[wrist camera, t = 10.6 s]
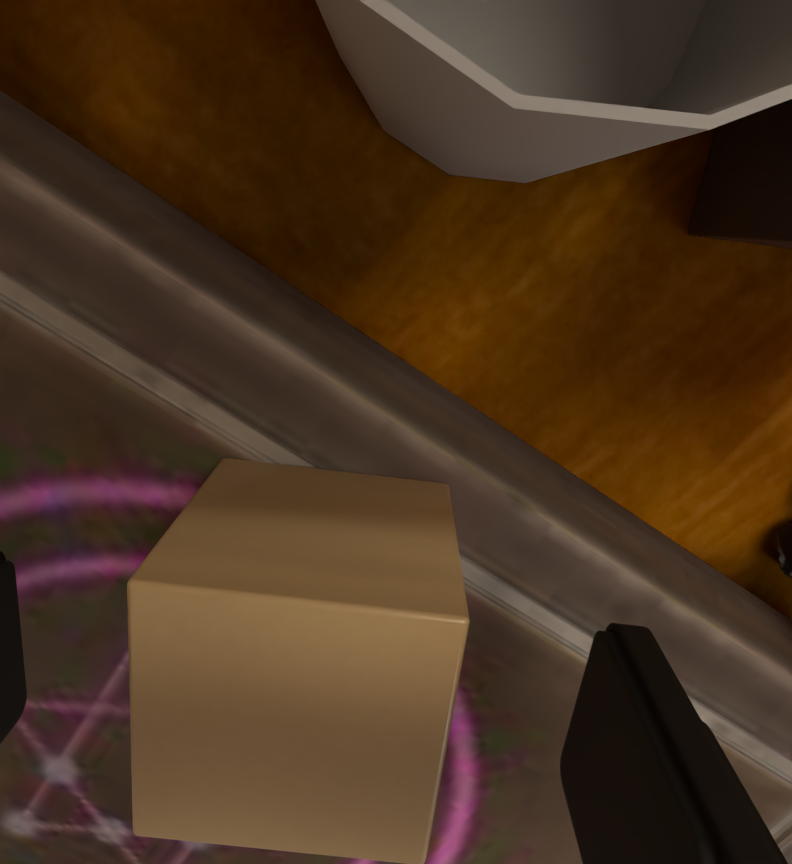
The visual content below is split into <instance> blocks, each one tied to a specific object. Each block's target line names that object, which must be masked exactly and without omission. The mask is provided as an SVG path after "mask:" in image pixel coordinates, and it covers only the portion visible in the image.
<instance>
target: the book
mask: <svg viewBox="0 0 792 864" xmlns="http://www.w3.org/2000/svg"><path fill="white" fill-rule="evenodd" d="M224 458H230V459H239V460H247V461H256V462H264V463H273V464H282V465H290V466H299V467H308V468H316V469H325V470H333V471H342V472H351V473H359V474H368V475H377V476H385V477H394V478H402V479H411V480H420V481H428V482H437V483H445V484H448V485H449V488H450V495H451V502H452V508H453V515H454V521H455V528H456V534H457V541H458V548H459V554H460V561H461V567H462V574H463V580H464V587H465V594H466V600H467V607H468V613H469V620H470V624H469V629H468V635H467V640H466V646H465V651H464V656H463V662H462V667H461V673H460V678H459V684H458V689H457V695H456V700H455V705H454V711H453V716H452V722H451V727H450V733H449V738H448V744H447V749H446V754H445V760H444V765H443V771H442V776H441V782H440V787H439V793H438V798H437V803H436V809H435V814H434V820H433V825H432V831H431V836H430V842H429V847H428V852H427V858H426V860H425V863H424V864H583V863H582V859H581V855H580V851H579V847H578V843H577V840H576V836H575V832H574V828H573V824H572V821H571V817H570V813H569V809H568V805H567V801H566V798H565V794H564V790H563V786H562V782H561V777H560V759H561V754H562V750H563V747H564V743H565V739H566V736H567V732H568V729H569V725H570V721H571V718H572V714H573V711H574V707H575V703H576V700H577V696H578V693H579V689H580V685H581V682H582V678H583V675H584V671H585V667H586V664H587V660H588V657H589V653H590V649H591V646H592V642H593V639H594V636H595V634H596V632H597V631H599V630H600V631H605V630H606V628H607V626H608V625H609V624H611V623H619V624H627V625H636V626H644V627H647V628H649V630H650V631H651V632H652V634H653V635H654V637H655V639H656V641H657V643H658V644H659V646H660V648H661V650H662V651H663V653H664V655H665V657H666V658H667V660H668V662H669V664H670V666H671V667H672V669H673V671H674V673H675V674H676V676H677V678H678V680H679V681H680V683H681V685H682V687H683V688H684V690H685V692H686V694H687V696H688V697H689V699H690V701H691V703H692V704H693V706H694V708H695V710H696V711H697V713H698V715H699V717H700V719H701V720H702V721H703V722H705V723H706V724H707V725H708V727H709V728H710V729H711V731H712V732H713V734H714V735H715V737H716V739H717V741H718V742H719V744H720V746H721V748H722V749H723V751H724V753H725V755H726V756H727V758H728V760H729V762H730V763H731V765H732V767H733V769H734V770H735V772H736V774H737V776H738V777H739V779H740V781H741V782H742V784H743V786H744V788H745V789H746V791H747V793H748V795H749V796H750V798H751V800H752V802H753V803H754V805H755V807H756V809H757V810H758V812H759V814H760V816H761V817H762V819H763V821H764V823H765V824H766V826H767V828H768V830H769V831H770V833H771V835H772V836H773V838H774V840H775V842H776V843H777V845H778V847H779V849H780V850H781V852H782V854H783V856H784V857H785V859H786V861H787V863H788V864H792V620H791V619H789V618H788V617H786V616H785V615H783V614H782V613H780V612H779V611H777V610H776V609H774V608H773V607H771V606H770V605H768V604H767V603H765V602H764V601H762V600H761V599H759V598H758V597H756V596H755V595H753V594H752V593H750V592H749V591H747V590H746V589H744V588H743V587H741V586H740V585H738V584H737V583H735V582H734V581H732V580H731V579H729V578H728V577H726V576H725V575H723V574H722V573H720V572H719V571H717V570H716V569H714V568H713V567H711V566H710V565H708V564H707V563H705V562H704V561H702V560H701V559H700V558H698V557H697V556H695V555H694V554H692V553H691V552H689V551H688V550H686V549H685V548H683V547H682V546H680V545H679V544H677V543H676V542H674V541H673V540H671V539H670V538H668V537H667V536H665V535H664V534H662V533H661V532H659V531H658V530H656V529H655V528H653V527H652V526H650V525H649V524H647V523H646V522H644V521H643V520H641V519H640V518H638V517H637V516H635V515H634V514H632V513H631V512H629V511H628V510H626V509H625V508H623V507H622V506H620V505H619V504H617V503H616V502H614V501H613V500H611V499H610V498H608V497H607V496H605V495H604V494H602V493H601V492H599V491H598V490H597V489H595V488H594V487H592V486H591V485H589V484H588V483H586V482H585V481H583V480H582V479H580V478H579V477H577V476H576V475H574V474H573V473H571V472H570V471H568V470H567V469H565V468H564V467H562V466H561V465H559V464H558V463H556V462H555V461H553V460H552V459H550V458H549V457H547V456H546V455H544V454H543V453H541V452H540V451H538V450H537V449H535V448H534V447H532V446H531V445H529V444H528V443H526V442H525V441H523V440H522V439H520V438H519V437H517V436H516V435H514V434H513V433H511V432H510V431H508V430H507V429H505V428H504V427H502V426H501V425H499V424H498V423H496V422H495V421H494V420H492V419H491V418H489V417H488V416H486V415H485V414H483V413H482V412H480V411H479V410H477V409H476V408H474V407H473V406H471V405H470V404H468V403H467V402H465V401H464V400H462V399H461V398H459V397H458V396H456V395H455V394H453V393H452V392H450V391H449V390H447V389H446V388H444V387H443V386H441V385H440V384H438V383H437V382H435V381H434V380H432V379H431V378H429V377H428V376H426V375H425V374H423V373H422V372H420V371H419V370H417V369H416V368H414V367H413V366H411V365H410V364H408V363H407V362H405V361H404V360H402V359H401V358H399V357H398V356H396V355H395V354H393V353H392V352H390V351H389V350H388V349H386V348H385V347H383V346H382V345H380V344H379V343H377V342H376V341H374V340H373V339H371V338H370V337H368V336H367V335H365V334H364V333H362V332H361V331H359V330H358V329H356V328H355V327H353V326H352V325H350V324H349V323H347V322H346V321H344V320H343V319H341V318H340V317H338V316H337V315H335V314H334V313H332V312H331V311H329V310H328V309H326V308H325V307H323V306H322V305H320V304H319V303H317V302H316V301H314V300H313V299H311V298H310V297H308V296H307V295H305V294H304V293H302V292H301V291H299V290H298V289H296V288H295V287H293V286H292V285H290V284H289V283H287V282H286V281H285V280H283V279H282V278H280V277H279V276H277V275H276V274H274V273H273V272H271V271H270V270H268V269H267V268H265V267H264V266H262V265H261V264H259V263H258V262H256V261H255V260H253V259H252V258H250V257H249V256H247V255H246V254H244V253H243V252H241V251H240V250H238V249H237V248H235V247H234V246H232V245H231V244H229V243H228V242H226V241H225V240H223V239H222V238H220V237H219V236H217V235H216V234H214V233H213V232H211V231H210V230H208V229H207V228H205V227H204V226H202V225H201V224H199V223H198V222H196V221H195V220H193V219H192V218H190V217H189V216H187V215H186V214H184V213H183V212H182V211H180V210H179V209H177V208H176V207H174V206H173V205H171V204H170V203H168V202H167V201H165V200H164V199H162V198H161V197H159V196H158V195H156V194H155V193H153V192H152V191H150V190H149V189H147V188H146V187H144V186H143V185H141V184H140V183H138V182H137V181H135V180H134V179H132V178H131V177H129V176H128V175H126V174H125V173H123V172H122V171H120V170H119V169H117V168H116V167H114V166H113V165H111V164H110V163H108V162H107V161H105V160H104V159H102V158H101V157H99V156H98V155H96V154H95V153H93V152H92V151H90V150H89V149H87V148H86V147H84V146H83V145H81V144H80V143H79V142H77V141H76V140H74V139H73V138H71V137H70V136H68V135H67V134H65V133H64V132H62V131H61V130H59V129H58V128H56V127H55V126H53V125H52V124H50V123H49V122H47V121H46V120H44V119H43V118H41V117H40V116H38V115H37V114H35V113H34V112H32V111H31V110H29V109H28V108H26V107H25V106H23V105H22V104H20V103H19V102H17V101H16V100H14V99H13V98H11V97H10V96H8V95H7V94H5V93H4V92H2V91H1V90H0V551H1V552H3V554H4V555H5V557H6V560H7V561H11V562H12V563H13V564H14V567H15V572H16V583H17V594H18V604H19V615H20V625H21V636H22V647H23V657H24V668H25V678H26V689H27V700H26V705H25V708H24V711H23V713H22V715H21V717H20V719H19V720H18V722H17V723H16V724H15V726H14V727H13V728H12V730H11V731H10V732H9V734H8V735H7V736H6V737H5V739H4V740H3V741H2V743H1V744H0V864H404V863H395V862H385V861H375V860H366V859H356V858H346V857H337V856H327V855H317V854H308V853H298V852H288V851H279V850H269V849H259V848H250V847H240V846H230V845H221V844H211V843H201V842H192V841H182V840H172V839H163V838H153V837H143V836H137V835H135V834H134V833H133V814H132V773H131V731H130V690H129V649H128V607H127V583H128V581H129V579H130V578H131V576H132V575H133V574H134V573H135V571H136V570H137V569H138V567H139V566H140V565H141V563H142V562H143V561H144V560H145V558H146V557H147V556H148V554H149V553H150V552H151V550H152V549H153V548H154V547H155V545H156V544H157V543H158V541H159V540H160V539H161V538H162V536H163V535H164V534H165V532H166V531H167V530H168V528H169V527H170V526H171V525H172V523H173V522H174V521H175V519H176V518H177V517H178V515H179V514H180V513H181V512H182V510H183V509H184V508H185V506H186V505H187V504H188V502H189V501H190V500H191V499H192V497H193V496H194V495H195V493H196V492H197V491H198V490H199V488H200V487H201V486H202V484H203V483H204V482H205V480H206V479H207V478H208V477H209V475H210V474H211V473H212V471H213V470H214V469H215V467H216V466H217V465H218V464H219V462H220V461H221V460H222V459H224Z"/></svg>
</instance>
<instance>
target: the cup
mask: <svg viewBox="0 0 792 864" xmlns="http://www.w3.org/2000/svg"><path fill="white" fill-rule="evenodd" d="M315 1H316V3H317V5H318V8H319V10H320V12H321V15H322V17H323V19H324V22H325V24H326V26H327V28H328V31H329V33H330V35H331V38H332V40H333V42H334V45H335V47H336V49H337V51H338V54H339V56H340V58H341V59H342V61H343V63H344V65H345V66H346V68H347V70H348V71H349V73H350V75H351V76H352V78H353V80H354V81H355V83H356V85H357V86H358V88H359V90H360V92H361V93H362V95H363V97H364V98H365V100H366V102H367V103H368V105H369V107H370V108H371V110H372V112H373V114H374V115H375V117H376V119H377V120H378V122H379V124H380V125H381V127H382V129H383V130H384V131H385V132H386V133H388V134H389V135H391V136H392V137H394V138H395V139H397V140H398V141H400V142H401V143H403V144H404V145H405V146H407V147H408V148H410V149H411V150H413V151H414V152H416V153H417V154H419V155H420V156H422V157H423V158H425V159H426V160H428V161H429V162H431V163H432V164H434V165H435V166H437V167H438V168H440V169H441V170H443V171H444V172H446V173H447V174H449V175H454V176H464V177H473V178H482V179H492V180H501V181H510V182H519V183H528V182H532V181H535V180H538V179H542V178H545V177H549V176H552V175H556V174H559V173H563V172H566V171H569V170H573V169H576V168H580V167H583V166H587V165H590V164H594V163H597V162H600V161H604V160H607V159H611V158H614V157H618V156H621V155H625V154H628V153H631V152H635V151H638V150H642V149H645V148H649V147H652V146H656V145H659V144H662V143H666V142H669V141H673V140H676V139H680V138H683V137H687V136H690V135H693V134H697V133H700V132H704V131H707V130H710V129H713V128H716V127H718V126H721V125H724V124H726V123H729V122H732V121H734V120H737V119H740V118H742V117H745V116H748V115H750V114H753V113H756V112H758V111H761V110H763V109H766V108H769V107H771V106H774V105H777V104H779V103H782V102H785V101H787V100H790V99H792V0H315Z"/></svg>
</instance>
